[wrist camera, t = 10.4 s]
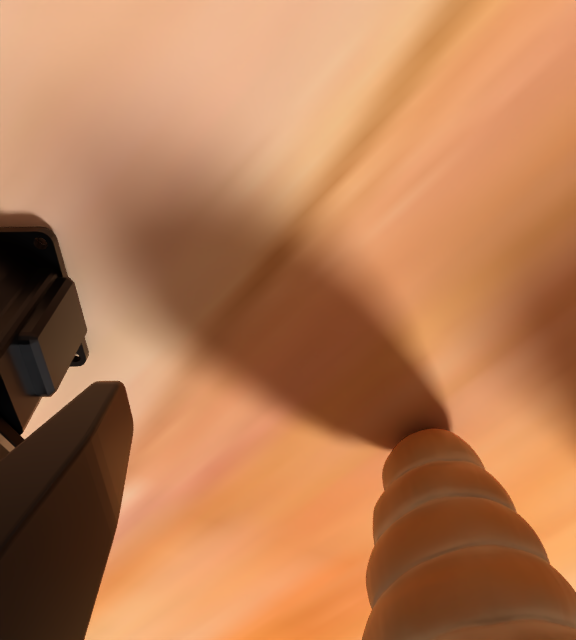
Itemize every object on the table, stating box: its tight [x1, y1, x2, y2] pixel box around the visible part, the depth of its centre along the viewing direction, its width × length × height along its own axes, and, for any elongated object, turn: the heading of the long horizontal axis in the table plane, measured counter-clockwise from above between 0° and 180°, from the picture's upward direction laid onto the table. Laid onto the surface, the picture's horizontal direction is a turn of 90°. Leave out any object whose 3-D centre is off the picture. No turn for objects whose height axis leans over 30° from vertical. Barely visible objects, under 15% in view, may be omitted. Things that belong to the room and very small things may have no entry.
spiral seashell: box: [362, 428, 576, 640], centre depth 20 cm, size 9×8×18 cm
